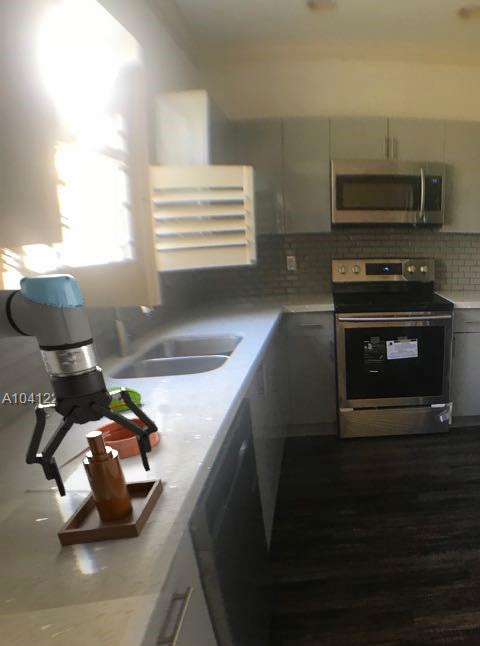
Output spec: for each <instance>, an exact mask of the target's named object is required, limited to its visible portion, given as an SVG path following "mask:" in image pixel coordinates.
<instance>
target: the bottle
mask: <svg viewBox="0 0 480 646" xmlns="http://www.w3.org/2000/svg"><path fill="white" fill-rule="evenodd" d="M85 437H86V442H87V444H88V447H89V451H87V452H86V454H85V456H84V458H83V459H82V462H81V463H82V465H83V468H84V471H85V475H86V478H87V481H88V484H89V487H90V492H91V491H92V494H93V497H94V501H95V504H96V507H97V510H98V514H99V517H100V519H101V520H102V521H115V520H119V519H121V518H123V517H125V516H127V515H129V514H130V513H131V512H132V510H133V505H132V502H131V498H130V495H129V491H128V487H127V484H126V483H127V480H126V476H125V473H124V470H123V466H122V462H121V459H120V458H119V455H118V452H117V451H116V450H112V449H111V448H110V447H106V446H105V443H104V439H103V435H102V432H100V431H96V432H93V431H91V432H89V433H87V434H86V435H85Z"/></svg>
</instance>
